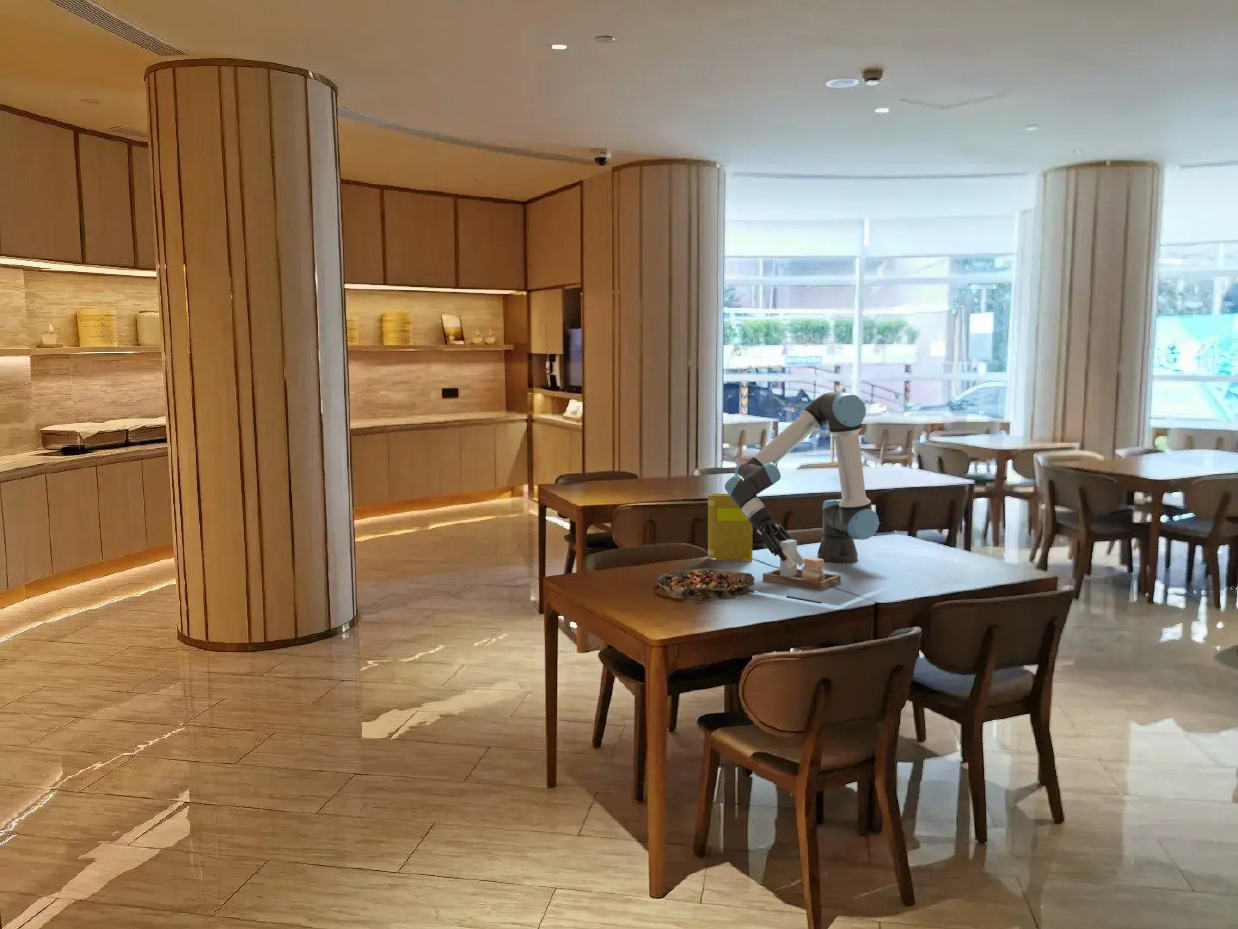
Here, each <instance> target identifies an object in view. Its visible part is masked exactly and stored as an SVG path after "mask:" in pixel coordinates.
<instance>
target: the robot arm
mask: <svg viewBox="0 0 1238 929" xmlns="http://www.w3.org/2000/svg"><path fill="white" fill-rule="evenodd" d="M866 409H867V408H866V405H865V403H864V401H863V400H862V398H861V397H859V396H858V395H857V394H853V393H850V392H837V391H836V392H835V391H831V392H830V391H829V392H826V393H823V394H821V395H820V396H818V397H817V398H815V399H814V400H813V401H812V402H811V403H808V405H807V406H806V407H804V408H803V409H802V410H801V411H800V416H799V417H797V418H796V419H795V420H793V421H792V422H791V423H790V424H789V425H787V427H786V428H785V429H783V430H782V431H781V432H780V433H779V434H777V436H775V437H774V438H772V440H771V441H769V442H768V443H767V444H766V445H764V447H763V448H761V450H759V451H758V452H757V453H756V454H754V456H753V457H751V458H750V459H749V460H747V461H746V462H741V463H739V464H738V465H737V466H736V467H735V470H734V475H733V476H732V477H730V478H729V479H728V480H727V481H726V482H725V484H724V490H725V491H726V494H729V496H730V497H731V498H732V499H733V501H734V502H735V503H736V504H737V506H738V507H739V508H740V509H741V511H742V512H743V513H744V515H745V516H746V517H747V518H748V519H749V521H750V523H751V524H752V525H753V528H754V529H757V530H756V531H755V534H756V535H757V536H758V537H759V538H760V539H761V540H762V542H763V543H764V545H765V546H766V548H767V549H768V551H769V552H770V553H771V554H772V555H773V556H775V557H777V556H778V557H779V559H780V558H781V560H782V561H783V562H784V563H785V565H786V566H787V567H788V568H789V570H791V569H792V568H793V567H794V566H795V565H796V564H795V563H794V562H793V561H792V559H791V558H790V557H789V555H788V554H787V553H786V552H785V550H782V549H781V547H780V542H782V541H785V540H789V539H791V540H794V538H793V537H792V536H791V535H790V534H789V532H788V531H787V530H786V529H785V528H784V526H783V525H782V523H781V522H777V523H775V521H774V520H772V517H773V516H772V513H771V512H770V511H769V509H768V508H767V507H765V506H766V505H765V504H764V503H763V502H762V500H761V498H759V497H758V495H759V494H760V493H762V492H764V491H765V490H767V489H768V488H770V487H771V486H773V485H775V484H777V482H779V481H780V480H781V477H782V475H781V472H780V469H779V468H778V466H776V464H777V463H778V462H780V461H781V460H782V459H783V458H785V457H786V456H787V455H788V454H789V453H790V452H791V451H793V449H795V448H796V447H797V446H798V445H799V444H800V443H802V442H803V441H804V440H805V439H806V438H808V436H809V435H811V434H812V433H814V431H820V430H821V429H822V428H823V427H825V426H826V425H828V431H829V433H831V435H833V436H834V444H835V452H836V459H837V461H836V462H837V467H838V475H839V484H840V493H841V499H827V500H824V501H823V503H822V504H823V505H822V536H821V537H822V538H821V542H820V544H819V548H818V550H817V556H816V558H819V559H824V562H829V563H852V562H856V561H858V560H859V558H858V557H859V554H858V550H857V546H856V544H855V540H861V541H862V540H868V539H870V538H872V537H873V536H874V535H875V533H876V532H877V531H878V528H879V524H880V521H879V520H880V519H879V516H878V514H877V513H876V512H875V511H874V510H873V509H872V501H871V499H869V498H868V496H867V494H866V493H867V492H866V488H865V478H864V470H863V461H862V453H861V444H860V436H859V433H860V431H861V430H862V428H863V426H862V422H864V419H865V418H866V414H867V412H866V411H867V410H866ZM781 550H782V551H781ZM804 559H805V558H804V557H803V556H802V555H801V553H800V552H799V550H797V566H799V567H801V566H803V565H804Z"/></svg>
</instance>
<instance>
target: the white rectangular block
mask: <svg viewBox="0 0 1238 929" xmlns="http://www.w3.org/2000/svg"><path fill="white" fill-rule="evenodd" d="M779 545H780V547H781V549H782V550H785V552H786V553H787V554H788V555H789V557H790V558H791V559H792V561H793V562H794V563H795V564H796V565H795V566H794V567H793V568H792V569H791V570H789V568H788V567H787V566H786V565H785V563H784V562H783V561H782V560H781V558H780V557H779V568H780V576H786V577H791V576H794V575H797V569H798V568H797V566H798V563H797V551H798V540H796V539H793V540H791V539H789V540H785V541H782V542H780V541H779ZM782 550H781V551H782Z"/></svg>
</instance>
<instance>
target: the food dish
mask: <svg viewBox="0 0 1238 929" xmlns="http://www.w3.org/2000/svg"><path fill="white" fill-rule="evenodd" d="M755 580H756V579H755V576H753V575H752V573H749V572H741V571H736V570H729V569H721V568H720V569H719V568H705V567H704V568H696V569H687V570H678V571H672V572H668V573H665V574H662V575H660V576H658V577H657V579H656V584H657V585H658V586H660V587H661V588H662V590H665V592H667V595H668V596H669V597H670V598H674V599H684V600H685V599H688V600H689V599H691V600H698V601H703V600H704V601H707V600H708V601H716V600H717V601H719V600H729V599H734V598H737V596H741V597H742V596H747V595H749V594H750V592H751V588H750V587H751V586H753V585H754V584H755V583H754V582H755ZM661 583H662V584H661Z"/></svg>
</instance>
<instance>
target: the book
mask: <svg viewBox="0 0 1238 929" xmlns="http://www.w3.org/2000/svg"><path fill="white" fill-rule="evenodd" d="M753 528H754V526H753V525H752V524H751V523H750V521H749V519H748V518H747V517H746V516H745V515H744V513H743V512H742V511H741V509H740V508H739V507H738V506H737V504H736V503H735V502H734V501H733V499H732V498H731V497H730V496H729V494H728V493H708V494H707V559H708V558H716V559H718V560H717V561H742V562H753V538H754V537H753Z"/></svg>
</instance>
